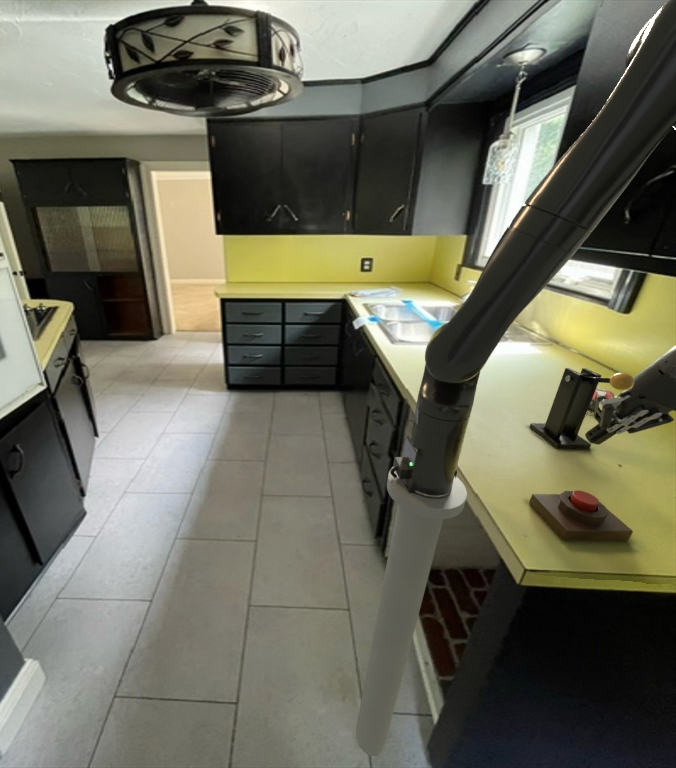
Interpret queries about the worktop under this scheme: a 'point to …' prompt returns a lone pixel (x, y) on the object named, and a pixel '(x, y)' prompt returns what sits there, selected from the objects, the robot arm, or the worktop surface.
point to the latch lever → (612, 380)
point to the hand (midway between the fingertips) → (590, 439)
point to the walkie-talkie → (597, 394)
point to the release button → (584, 501)
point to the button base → (579, 519)
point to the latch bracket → (568, 411)
